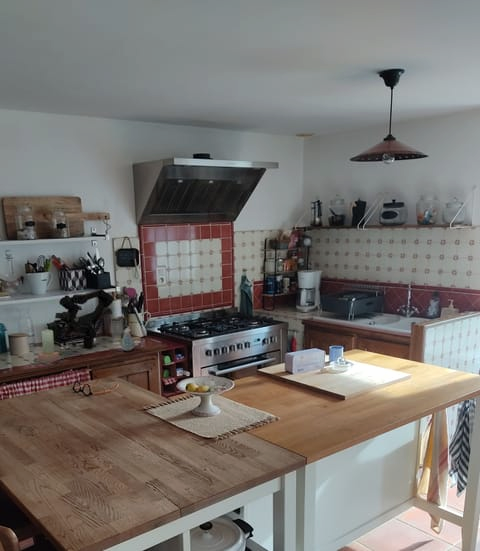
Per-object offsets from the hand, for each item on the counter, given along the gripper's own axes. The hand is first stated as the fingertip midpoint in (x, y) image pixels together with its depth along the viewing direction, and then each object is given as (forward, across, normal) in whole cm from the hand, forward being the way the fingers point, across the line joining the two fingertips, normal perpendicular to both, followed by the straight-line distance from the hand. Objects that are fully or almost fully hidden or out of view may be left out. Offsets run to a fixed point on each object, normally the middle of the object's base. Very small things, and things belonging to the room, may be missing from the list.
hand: (60, 336), depth 289 cm
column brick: (+11, -1, -2) cm, 12 cm away
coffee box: (-16, +3, +40) cm, 43 cm away
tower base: (+15, -1, +1) cm, 15 cm away
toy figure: (-7, +21, +33) cm, 40 cm away
